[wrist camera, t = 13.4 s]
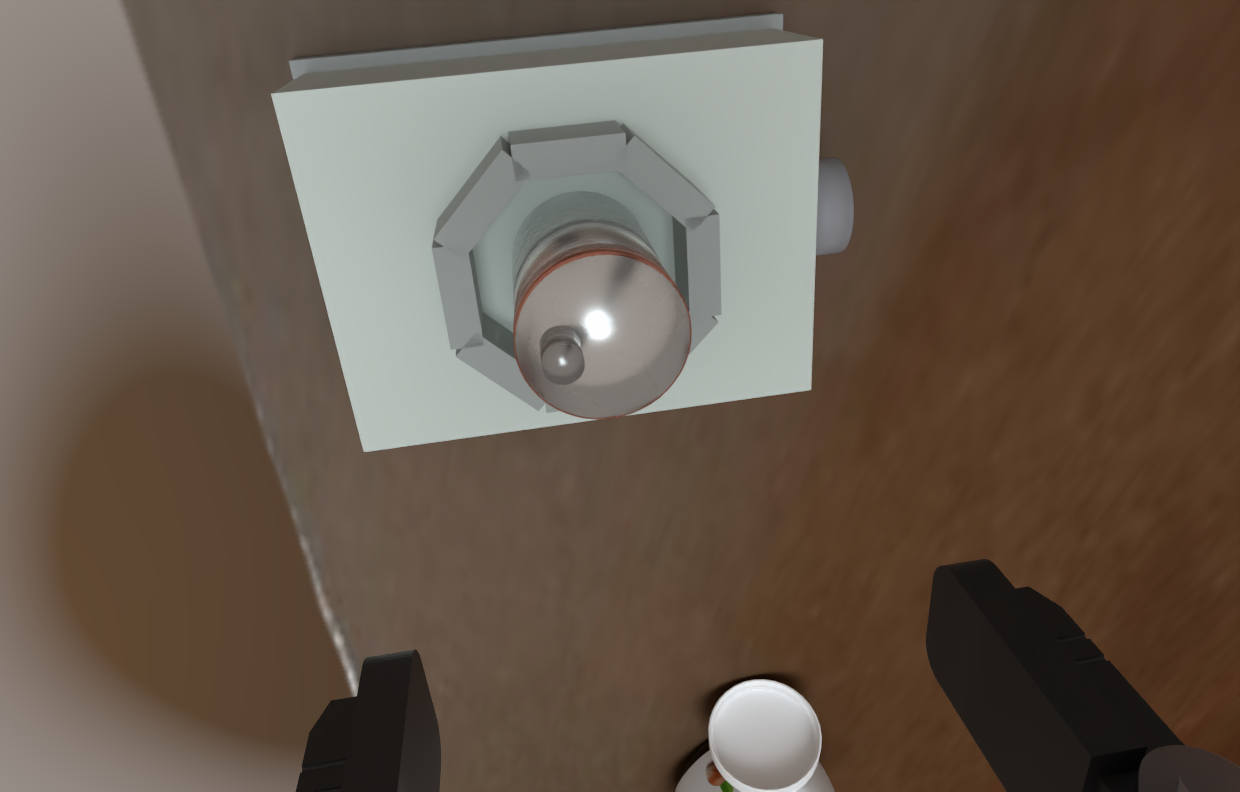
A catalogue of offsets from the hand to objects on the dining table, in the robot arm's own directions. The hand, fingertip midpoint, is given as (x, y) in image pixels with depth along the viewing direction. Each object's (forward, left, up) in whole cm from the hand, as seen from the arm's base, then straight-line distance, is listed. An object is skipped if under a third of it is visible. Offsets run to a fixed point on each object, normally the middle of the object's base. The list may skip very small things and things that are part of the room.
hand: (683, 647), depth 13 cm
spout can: (0, +1, -21) cm, 21 cm away
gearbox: (0, +1, -28) cm, 28 cm away
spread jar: (-8, +38, -28) cm, 48 cm away
